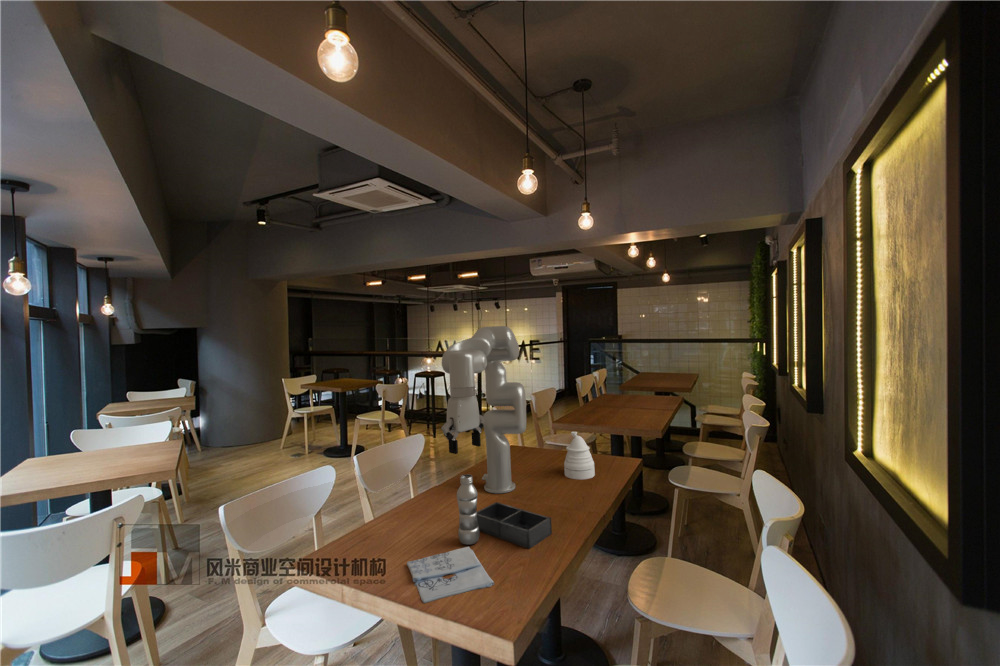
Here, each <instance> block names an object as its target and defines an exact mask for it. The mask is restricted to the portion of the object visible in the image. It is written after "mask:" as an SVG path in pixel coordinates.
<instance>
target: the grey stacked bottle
mask: <svg viewBox="0 0 1000 666" xmlns="http://www.w3.org/2000/svg"><path fill="white" fill-rule="evenodd" d="M473 482H474V481H473V475H472V474H462V475H460V481H459V483H460V486H459V487H458V489H457V492H456V499H457V506H458V512H459V515H458V516H459V520H458V521H459V523H458V524H459V525H458V533H457V535H458V540H459V542H460V543H461V544H462V545H466V546H467V545H474V544H476V543H478V541H479V539H480V534H481V533H480V531H479V527H478V521H477V511H478V510H477V507H478V491H477V490H478V489H476V487H475V485H474V484H473Z"/></svg>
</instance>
